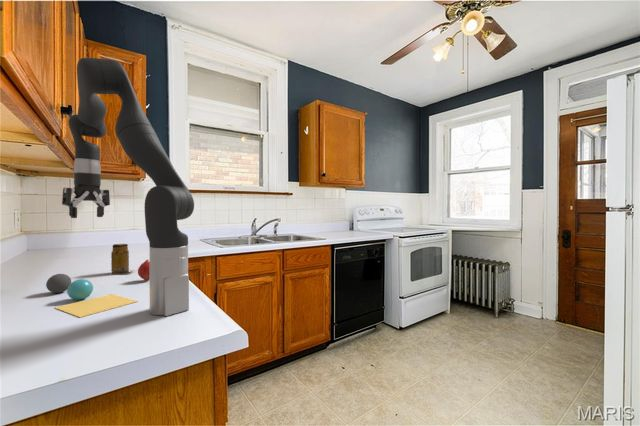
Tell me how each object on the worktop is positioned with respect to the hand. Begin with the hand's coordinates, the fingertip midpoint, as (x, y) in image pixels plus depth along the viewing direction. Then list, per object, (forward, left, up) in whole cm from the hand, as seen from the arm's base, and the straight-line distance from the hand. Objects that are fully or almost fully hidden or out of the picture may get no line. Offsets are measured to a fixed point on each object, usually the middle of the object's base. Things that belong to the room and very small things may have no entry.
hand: (87, 217), depth 105 cm
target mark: (-32, +5, -24) cm, 40 cm away
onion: (-13, -15, -24) cm, 31 cm away
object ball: (-22, +7, -21) cm, 31 cm away
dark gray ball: (-8, +9, -21) cm, 24 cm away
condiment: (+9, -14, -24) cm, 29 cm away
